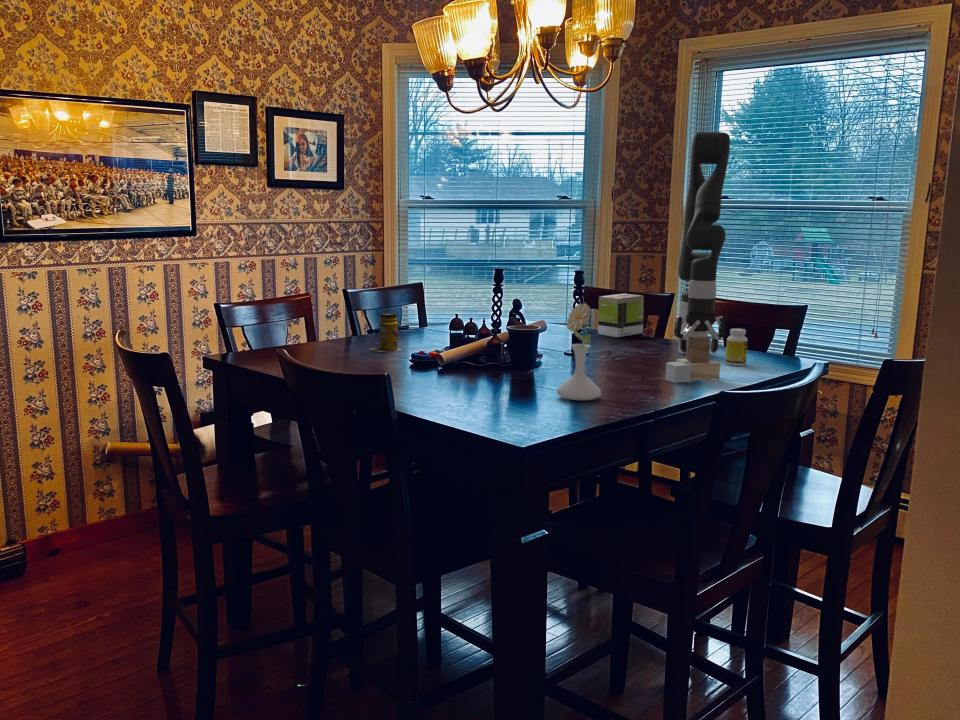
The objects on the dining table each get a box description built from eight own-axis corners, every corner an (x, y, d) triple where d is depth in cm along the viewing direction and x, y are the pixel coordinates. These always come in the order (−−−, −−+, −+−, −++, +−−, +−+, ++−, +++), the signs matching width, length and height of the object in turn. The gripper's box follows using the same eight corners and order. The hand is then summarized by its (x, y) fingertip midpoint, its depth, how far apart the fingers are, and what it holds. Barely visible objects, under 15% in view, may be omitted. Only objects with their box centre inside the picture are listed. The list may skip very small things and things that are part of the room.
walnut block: (686, 359, 243) (687, 335, 242) (703, 359, 244) (704, 335, 242) (691, 362, 238) (693, 338, 237) (708, 362, 239) (710, 338, 237)
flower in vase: (553, 393, 219) (556, 298, 214) (596, 393, 220) (600, 298, 215) (561, 405, 206) (564, 304, 202) (607, 405, 207) (611, 305, 202)
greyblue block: (665, 379, 238) (666, 362, 237) (680, 378, 240) (681, 361, 239) (674, 383, 234) (675, 366, 233) (690, 382, 235) (691, 365, 234)
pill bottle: (746, 366, 258) (749, 331, 256) (726, 365, 259) (728, 330, 257) (744, 363, 264) (747, 328, 262) (724, 362, 265) (726, 327, 263)
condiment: (402, 350, 278) (402, 314, 276) (380, 352, 273) (380, 316, 271) (391, 346, 284) (391, 311, 282) (369, 349, 279) (369, 313, 277)
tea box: (623, 330, 326) (624, 292, 323) (643, 334, 318) (645, 295, 315) (596, 334, 316) (598, 295, 313) (617, 337, 309) (619, 297, 306)
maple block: (675, 375, 245) (675, 358, 244) (702, 374, 247) (703, 357, 247) (691, 382, 236) (692, 364, 235) (719, 380, 239) (720, 363, 238)
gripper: (722, 294, 241) (718, 350, 245) (673, 294, 241) (670, 349, 244) (731, 297, 234) (727, 354, 237) (680, 297, 233) (677, 354, 236)
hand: (698, 352), depth 241 cm, fingers open, 8 cm apart
